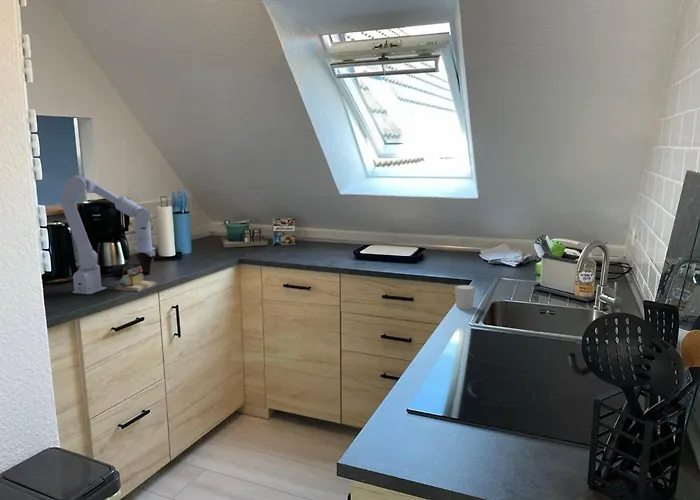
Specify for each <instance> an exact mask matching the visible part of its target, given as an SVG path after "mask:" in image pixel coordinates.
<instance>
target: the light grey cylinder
mask: <svg viewBox="0 0 700 500" xmlns="http://www.w3.org/2000/svg"><path fill="white" fill-rule="evenodd" d="M454 291H455V293H454V294H455V307H456V308H458V309H461V310H468V309H469V310H471V309H473V308H474V302H475V293H476V287H475V286H473V285H470V284H469V285H468V284H459V285H455V287H454Z"/></svg>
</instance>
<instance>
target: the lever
mask: <svg viewBox="0 0 700 500" xmlns="http://www.w3.org/2000/svg"><path fill="white" fill-rule="evenodd" d="M139 272H143V270H142V267H141V266H138V267H136V268H134V269H129V270H128V275H136V273H139Z"/></svg>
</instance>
